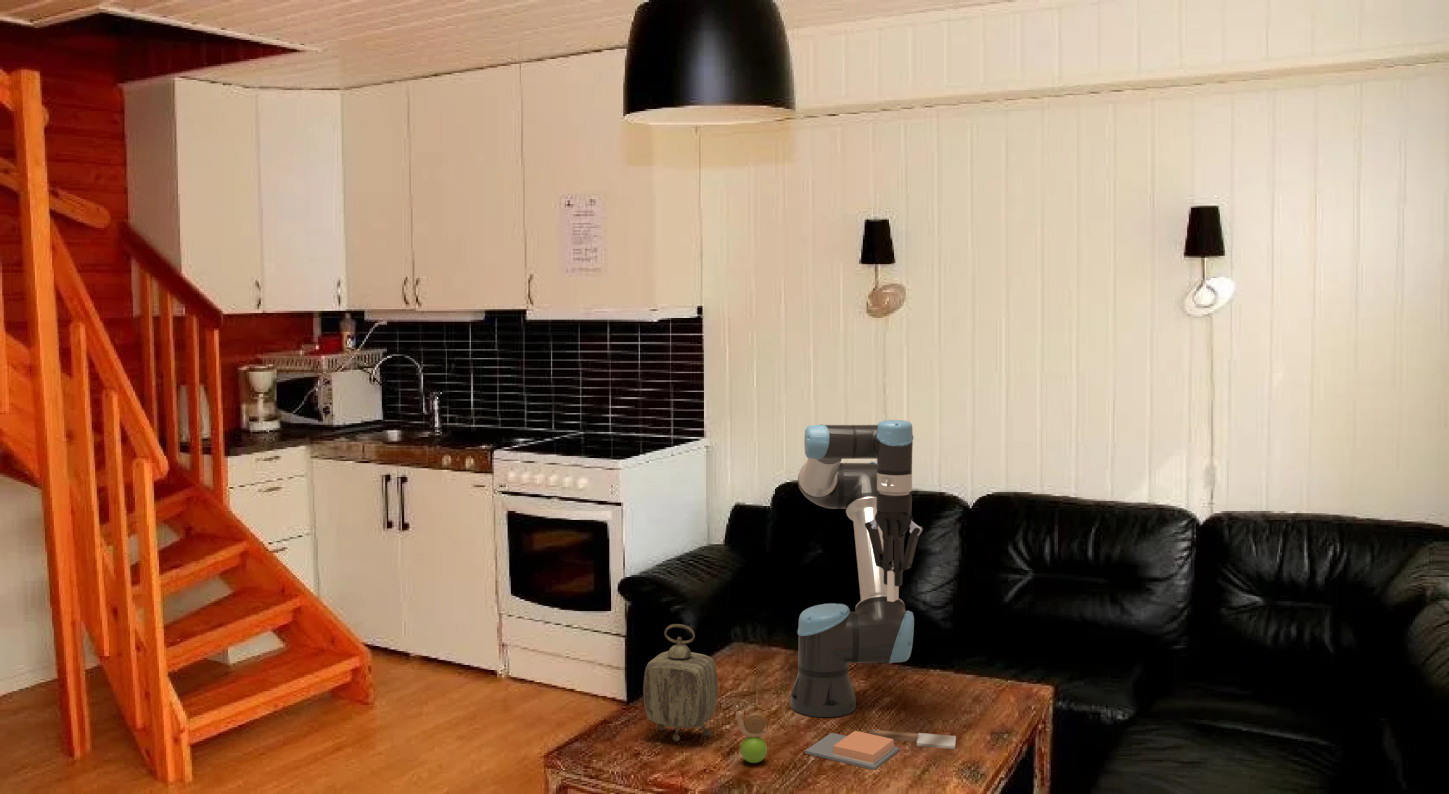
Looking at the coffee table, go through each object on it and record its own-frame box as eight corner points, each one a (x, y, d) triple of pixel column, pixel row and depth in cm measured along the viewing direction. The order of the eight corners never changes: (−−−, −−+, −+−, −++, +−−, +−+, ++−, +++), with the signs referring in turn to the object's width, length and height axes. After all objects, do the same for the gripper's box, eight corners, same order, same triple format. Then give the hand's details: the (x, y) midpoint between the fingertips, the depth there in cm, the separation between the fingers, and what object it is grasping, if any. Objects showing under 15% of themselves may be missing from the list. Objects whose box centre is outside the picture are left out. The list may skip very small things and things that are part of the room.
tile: (833, 745, 249) (872, 755, 244) (855, 730, 257) (893, 739, 252) (833, 755, 249) (872, 764, 244) (854, 739, 257) (893, 748, 252)
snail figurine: (734, 757, 249) (734, 701, 248) (765, 756, 250) (765, 700, 249) (737, 768, 244) (737, 710, 243) (768, 767, 244) (768, 709, 243)
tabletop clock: (717, 734, 262) (717, 622, 260) (703, 750, 253) (703, 633, 251) (656, 726, 267) (655, 616, 264) (640, 741, 258) (639, 627, 256)
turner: (869, 741, 258) (869, 736, 258) (872, 731, 264) (872, 726, 264) (955, 749, 254) (955, 743, 254) (955, 738, 260) (956, 733, 260)
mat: (804, 753, 251) (804, 750, 251) (831, 735, 261) (831, 732, 261) (874, 770, 243) (874, 767, 243) (899, 750, 253) (899, 747, 253)
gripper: (859, 492, 259) (858, 599, 261) (915, 497, 252) (913, 608, 254) (874, 487, 265) (873, 592, 268) (929, 492, 258) (927, 600, 261)
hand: (892, 600), depth 261 cm, fingers closed
